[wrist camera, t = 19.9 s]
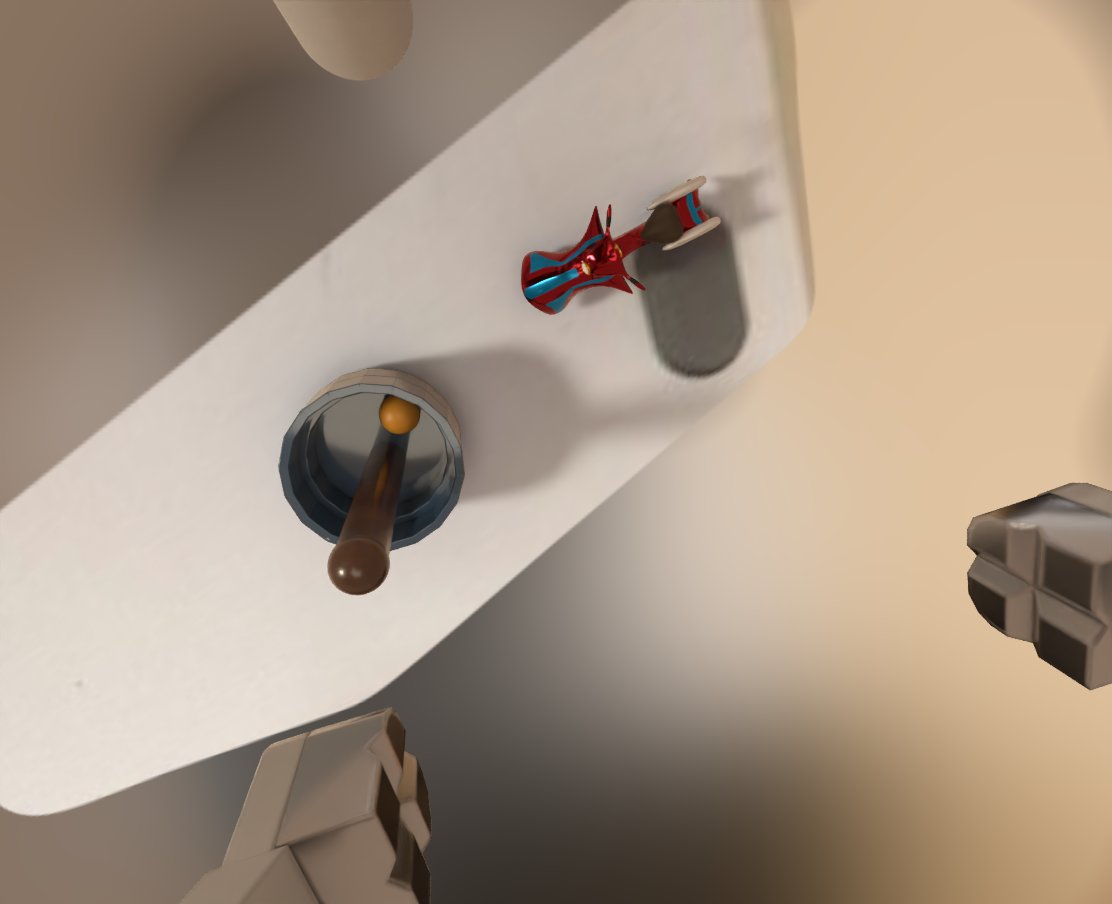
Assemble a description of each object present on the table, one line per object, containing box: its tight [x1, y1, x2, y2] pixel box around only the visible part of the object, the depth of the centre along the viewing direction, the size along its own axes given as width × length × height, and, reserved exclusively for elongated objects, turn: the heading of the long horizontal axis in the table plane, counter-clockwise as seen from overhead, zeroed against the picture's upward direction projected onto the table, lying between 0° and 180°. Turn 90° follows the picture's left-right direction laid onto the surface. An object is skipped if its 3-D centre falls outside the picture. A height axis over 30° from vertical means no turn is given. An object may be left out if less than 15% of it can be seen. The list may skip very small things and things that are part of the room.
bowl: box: [278, 368, 465, 551], centre depth 35 cm, size 10×10×6 cm
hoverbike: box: [521, 176, 721, 315], centre depth 34 cm, size 5×12×6 cm, turn 116°
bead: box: [379, 395, 420, 434], centre depth 36 cm, size 2×2×2 cm
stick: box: [327, 443, 405, 595], centre depth 30 cm, size 2×2×15 cm
